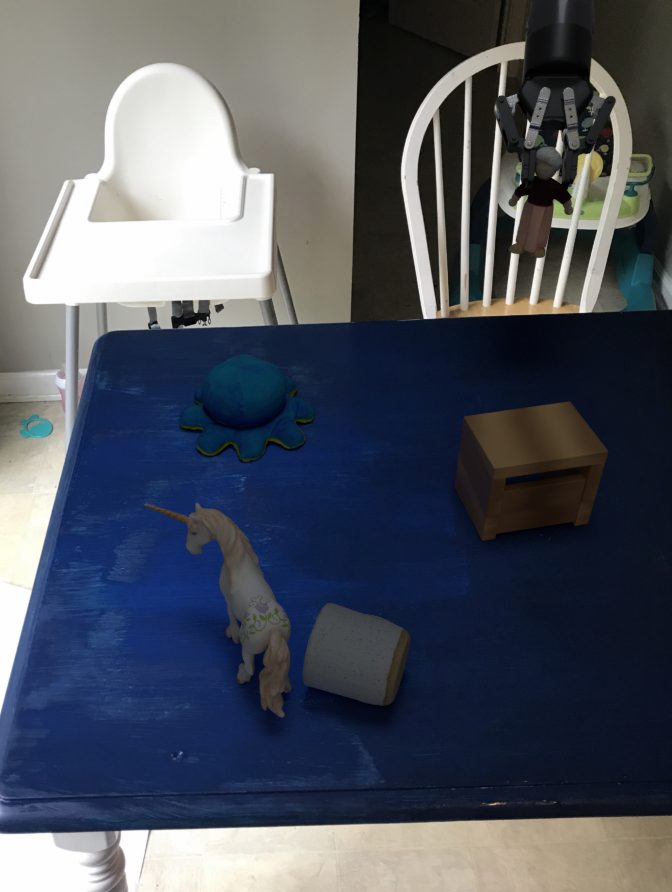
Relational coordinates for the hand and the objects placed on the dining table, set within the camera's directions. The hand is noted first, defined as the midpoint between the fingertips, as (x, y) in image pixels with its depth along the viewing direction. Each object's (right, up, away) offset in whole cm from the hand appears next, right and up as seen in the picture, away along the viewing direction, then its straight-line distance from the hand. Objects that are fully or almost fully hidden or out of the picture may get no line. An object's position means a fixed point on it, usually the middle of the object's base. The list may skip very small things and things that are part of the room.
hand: (547, 185), depth 95 cm
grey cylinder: (-23, -52, -19) cm, 60 cm away
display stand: (-4, -37, -3) cm, 37 cm away
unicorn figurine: (-36, -51, -17) cm, 65 cm away
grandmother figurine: (+1, -5, +8) cm, 10 cm away
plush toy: (-35, -26, +11) cm, 45 cm away
